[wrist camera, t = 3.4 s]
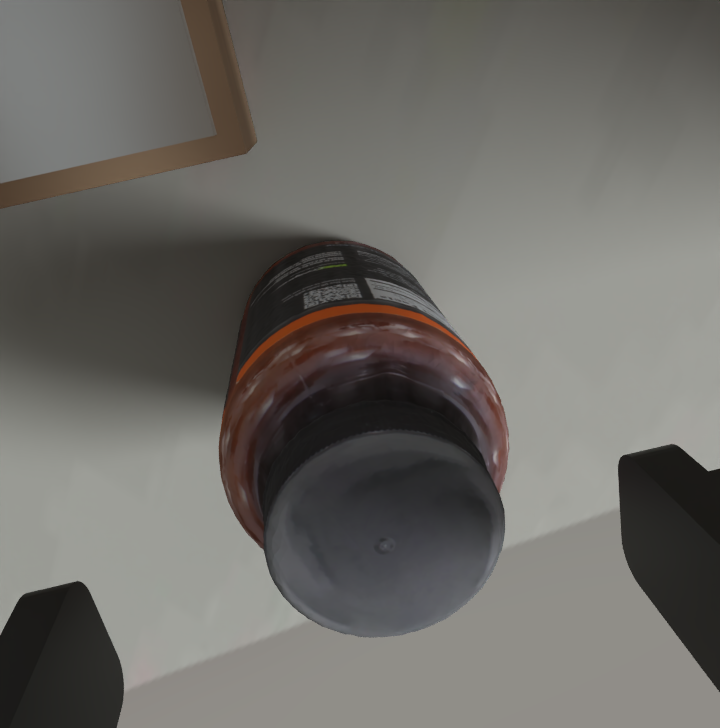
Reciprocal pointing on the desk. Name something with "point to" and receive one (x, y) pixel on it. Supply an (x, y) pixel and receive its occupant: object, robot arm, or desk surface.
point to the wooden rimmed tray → (114, 93)
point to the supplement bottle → (362, 444)
